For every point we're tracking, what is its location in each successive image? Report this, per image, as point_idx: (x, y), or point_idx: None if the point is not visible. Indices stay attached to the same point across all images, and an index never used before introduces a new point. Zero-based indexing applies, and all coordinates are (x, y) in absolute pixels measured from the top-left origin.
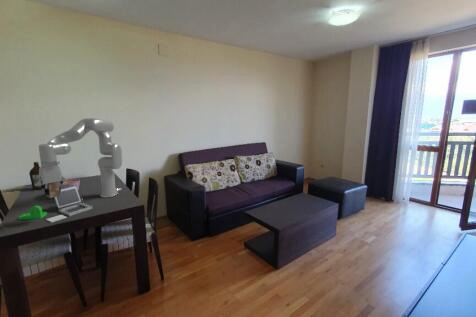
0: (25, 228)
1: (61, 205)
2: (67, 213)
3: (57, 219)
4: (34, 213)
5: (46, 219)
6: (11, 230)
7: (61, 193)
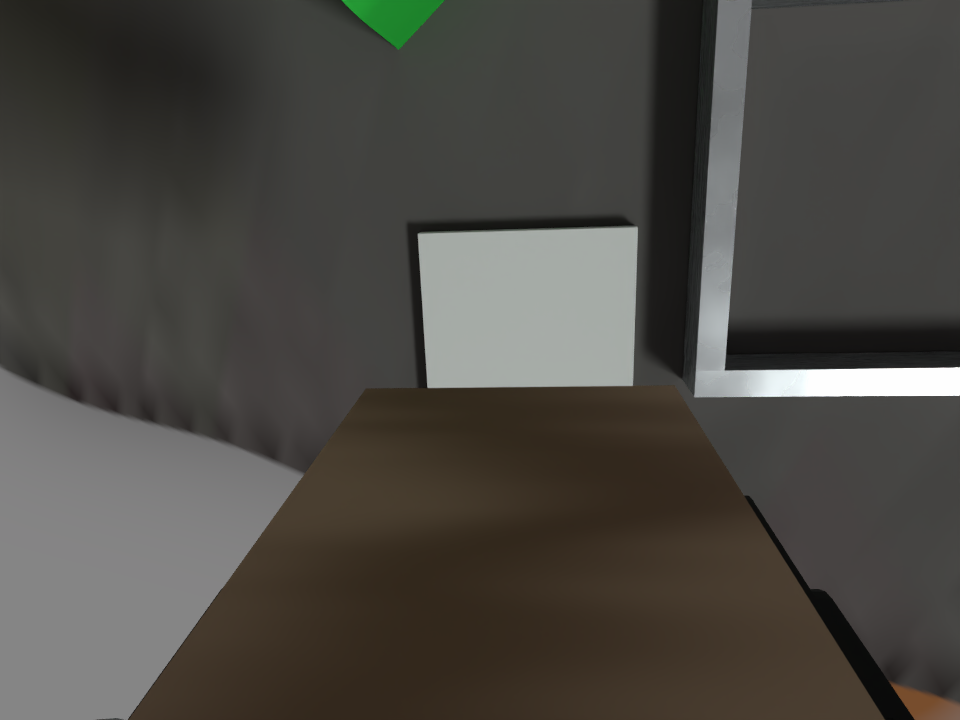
0: (160, 316)
1: None
2: (694, 329)
3: None
4: None
5: (418, 243)
6: (27, 228)
7: None
